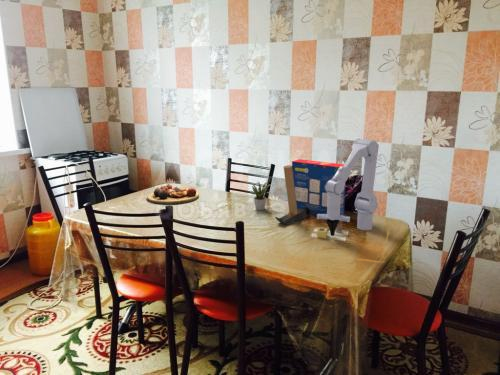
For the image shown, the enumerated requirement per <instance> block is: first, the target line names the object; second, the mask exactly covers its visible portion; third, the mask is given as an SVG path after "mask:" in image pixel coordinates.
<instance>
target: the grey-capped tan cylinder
mask: <svg viewBox="0 0 500 375" xmlns="http://www.w3.org/2000/svg"><path fill="white" fill-rule="evenodd" d="M342 230H343V221H339V223H338V225H337V227H336V230H335V232H336V233H342Z"/></svg>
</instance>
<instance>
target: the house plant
mask: <svg viewBox="0 0 500 375" xmlns="http://www.w3.org/2000/svg"><path fill="white" fill-rule="evenodd" d="M268 182H269V180H268V181H265V182H264V184H263V185H261V183H260V181H256V183H257V185H258V187H257V186H256V185H255V184H253V183H251V182H250V184H251V188H252V193H253V194H251V196H254V197H253V202H254V205H255V209H256V210H257V211H264V210H265V208H266V202H267V197H265V196H270V195H271V192H269V191H267V190H268V187H269V186H272V185H273V183H271V184H268ZM266 191H267V192H266Z"/></svg>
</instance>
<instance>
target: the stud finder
mask: <svg viewBox="0 0 500 375" xmlns="http://www.w3.org/2000/svg"><path fill="white" fill-rule="evenodd" d="M318 228H319V229H318V230H317V237H318V238H317V239H322V238H326V237H327V234H328V229H329V228H324V227H318Z"/></svg>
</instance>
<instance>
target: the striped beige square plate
mask: <svg viewBox="0 0 500 375" xmlns="http://www.w3.org/2000/svg"><path fill="white" fill-rule="evenodd" d="M319 228H320V227H315V228H314V229H313V231H312V232H311V234H310V235H309V238H313V239H319V238H318V237H317V230H318V229H319ZM327 229H328V234H327V237H326V238H321V239H324V240H330V241H331V240H332V241H339V242H340V241H341V242H346V240H347V237H348V235H349V233H350V231H349V230H343V229H342V233H336V232H335V234H334V236H331V233H330V229H329V228H327Z"/></svg>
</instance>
